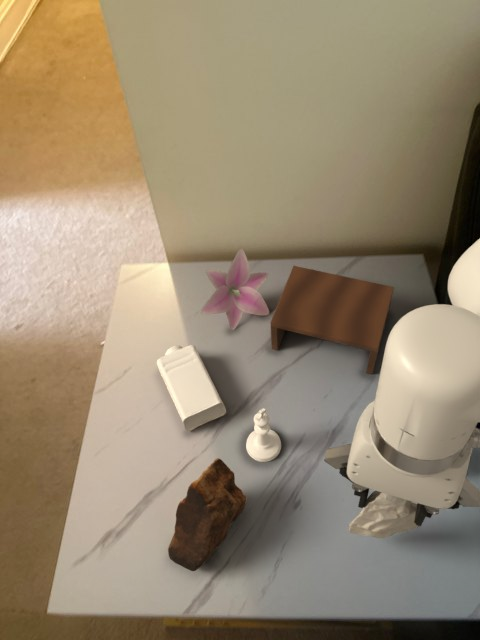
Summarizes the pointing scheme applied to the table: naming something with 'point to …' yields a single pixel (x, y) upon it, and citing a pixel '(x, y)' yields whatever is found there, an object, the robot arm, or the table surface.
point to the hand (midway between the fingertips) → (391, 502)
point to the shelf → (333, 310)
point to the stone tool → (384, 516)
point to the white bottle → (190, 386)
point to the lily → (236, 291)
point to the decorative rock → (205, 516)
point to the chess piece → (263, 439)
